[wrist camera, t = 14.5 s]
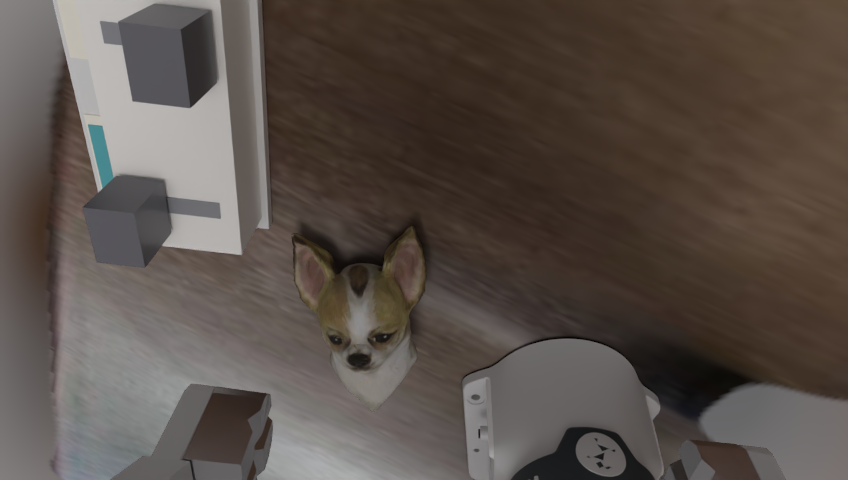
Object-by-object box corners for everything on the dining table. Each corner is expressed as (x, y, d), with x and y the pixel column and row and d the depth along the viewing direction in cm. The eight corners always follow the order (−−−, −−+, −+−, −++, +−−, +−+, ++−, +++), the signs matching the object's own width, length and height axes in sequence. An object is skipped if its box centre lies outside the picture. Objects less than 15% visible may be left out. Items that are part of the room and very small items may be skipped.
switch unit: (272, 222, 46) (249, 267, 41) (109, 203, 46) (65, 246, 41) (247, -299, 29) (202, -331, 24) (-15, -334, 29) (-117, -375, 24)
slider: (171, 232, 39) (145, 267, 36) (127, 227, 39) (96, 262, 36) (162, 181, 37) (134, 213, 34) (116, 175, 37) (82, 207, 34)
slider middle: (217, 82, 33) (190, 108, 30) (165, 76, 33) (132, 101, 30) (210, 10, 31) (180, 29, 28) (154, 3, 31) (117, 21, 28)
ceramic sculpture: (306, 430, 47) (262, 276, 39) (326, 357, 54) (292, 216, 47) (437, 426, 46) (418, 267, 38) (439, 352, 53) (423, 208, 46)
